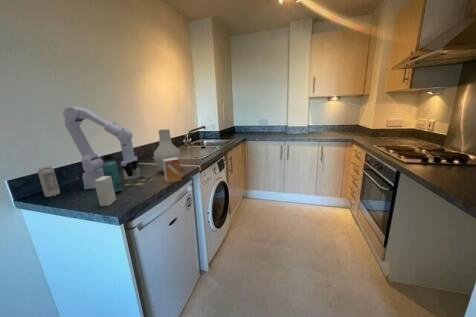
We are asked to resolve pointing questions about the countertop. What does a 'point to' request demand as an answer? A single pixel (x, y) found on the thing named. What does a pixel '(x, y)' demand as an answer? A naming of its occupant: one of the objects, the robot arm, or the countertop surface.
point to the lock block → (134, 174)
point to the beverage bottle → (112, 171)
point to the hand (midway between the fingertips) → (132, 175)
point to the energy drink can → (48, 181)
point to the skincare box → (105, 190)
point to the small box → (172, 170)
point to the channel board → (138, 181)
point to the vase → (165, 148)
